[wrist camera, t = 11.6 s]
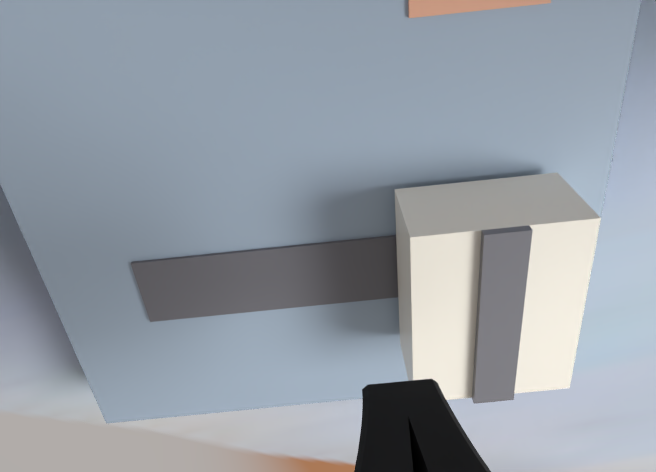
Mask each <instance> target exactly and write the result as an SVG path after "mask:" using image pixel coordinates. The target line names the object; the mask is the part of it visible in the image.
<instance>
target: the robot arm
mask: <svg viewBox="0 0 656 472" xmlns="http://www.w3.org/2000/svg"><path fill="white" fill-rule="evenodd" d="M362 397H363V411H362V426H361V434H360V442H359V449H358V455H357V460H356V465H355V471H354V472H491V471H490V470H489V468H488V467H487V465H486V464H485V462H484V461H483V460H482V458H481V457H480V455H479V454H478V452H477V451H476V449H475V448H474V446H473V445H472V443H471V441H470V440H469V438H468V437H467V435H466V433H465V432H464V430H463V428H462V427H461V425H460V424H459V422H458V420H457V419H456V417H455V415H454V413H453V412H452V410H451V408H450V406H449V404H448V403H447V401H446V399H445V397H444V395H443V393H442V391H441V389H440V387H439V385H438V383H437V382H436V381H435V380H433V379H422V380H412V381H401V382H390V383H379V384H369V385H367V386H365V387H364V388H363V389H362Z"/></svg>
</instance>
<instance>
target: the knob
mask: <svg viewBox="0 0 656 472" xmlns="http://www.w3.org/2000/svg"><path fill="white" fill-rule="evenodd" d="M395 217H396V245H397V273H398V301H399V329H400V345H401V349H402V354H403V358H404V363H405V367H406V372H407V376H408V381H412V380H422V379H433V380H435V381H436V382H437V383H438V385H439V387H440V389H441V391H442V393H443V395H444V397H445V399H446V400H451V399H462V398H472V399H473V402H474V403H485V402H495V401H505V400H513V399H514V393H524V392H534V391H544V390H554V389H565V388H570V383H571V377H572V372H573V367H574V361H575V356H576V350H577V345H578V340H579V334H580V329H581V323H582V318H583V313H584V307H585V302H586V296H587V291H588V286H589V280H590V275H591V269H592V264H593V259H594V253H595V248H596V242H597V237H598V231H599V226H600V221H601V218H600V217H599V216H598V214H597V213H596V212H595V211H594V210H593V209H592V208H591V207H590V206H589V205H588V204H587V203H586V202H585V201H584V200H583V199H582V198H581V197H580V196H579V195H578V194H577V192H576V191H575V190H574V189H573V188H572V187H571V186H570V185H569V184H568V183H567V182H566V181H565V180H564V179H563V178H562V177H561V176H560V175H559V174H558V173H547V174H537V175H528V176H518V177H508V178H498V179H489V180H479V181H469V182H460V183H450V184H440V185H430V186H421V187H411V188H401V189H395Z"/></svg>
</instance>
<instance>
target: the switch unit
mask: <svg viewBox="0 0 656 472" xmlns="http://www.w3.org/2000/svg"><path fill="white" fill-rule="evenodd" d="M640 6H641V0H0V185H1V187H2V189H3V192H4V194H5V196H6V198H7V201H8V203H9V205H10V207H11V210H12V212H13V214H14V216H15V219H16V221H17V223H18V225H19V228H20V230H21V232H22V234H23V237H24V239H25V241H26V243H27V246H28V248H29V250H30V252H31V255H32V257H33V259H34V261H35V264H36V266H37V268H38V270H39V273H40V275H41V277H42V279H43V282H44V284H45V286H46V288H47V291H48V293H49V295H50V297H51V300H52V302H53V304H54V307H55V309H56V311H57V313H58V316H59V318H60V320H61V322H62V325H63V327H64V329H65V331H66V334H67V336H68V338H69V340H70V343H71V345H72V347H73V349H74V352H75V354H76V356H77V358H78V361H79V363H80V365H81V367H82V370H83V372H84V374H85V376H86V379H87V381H88V383H89V385H90V388H91V390H92V392H93V394H94V397H95V399H96V401H97V403H98V406H99V408H100V410H101V412H102V415H103V417H104V419H105V421H106V423H115V422H126V421H136V420H146V419H156V418H167V417H177V416H187V415H197V414H208V413H218V412H228V411H239V410H249V409H259V408H269V407H280V406H290V405H300V404H311V403H321V402H331V401H341V400H352V399H362V398H363V397H362V389H363V388H364V387H365V386H367V385H369V384H379V383H390V382H401V381H408V376H407V372H406V367H405V363H404V358H403V354H402V349H401V345H400V329H399V301H398V273H397V245H396V217H395V189H401V188H411V187H421V186H430V185H440V184H450V183H460V182H469V181H479V180H489V179H498V178H508V177H518V176H528V175H537V174H547V173H558V174H559V175H560V176H561V177H562V178H563V179H564V180H565V181H566V182H567V183H568V184H569V185H570V186H571V187H572V188H573V189H574V190H575V191H576V192H577V194H578V195H579V196H580V197H581V198H582V199H583V200H584V201H585V202H586V203H587V204H588V205H589V206H590V207H591V208H592V209H593V210H594V211H595V212H596V213H597V214H598V216H599V217H600V218H601V216H602V211H603V205H604V200H605V195H606V189H607V184H608V178H609V173H610V168H611V162H612V157H613V151H614V146H615V141H616V135H617V130H618V124H619V119H620V114H621V108H622V103H623V97H624V92H625V87H626V81H627V76H628V70H629V65H630V60H631V54H632V49H633V43H634V38H635V33H636V27H637V22H638V16H639V11H640ZM600 222H601V221H600ZM599 227H600V226H599ZM598 232H599V231H598ZM597 238H598V237H597ZM596 243H597V242H596ZM595 249H596V248H595ZM594 254H595V253H594ZM592 265H593V264H592ZM591 270H592V269H591ZM590 276H591V275H590ZM589 281H590V280H589ZM587 292H588V291H587ZM586 297H587V296H586ZM585 303H586V302H585ZM584 308H585V307H584ZM582 319H583V318H582ZM581 324H582V323H581ZM580 330H581V329H580ZM579 335H580V334H579ZM577 346H578V345H577ZM576 351H577V350H576ZM575 357H576V356H575ZM574 362H575V361H574ZM572 373H573V372H572ZM571 378H572V377H571Z"/></svg>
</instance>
